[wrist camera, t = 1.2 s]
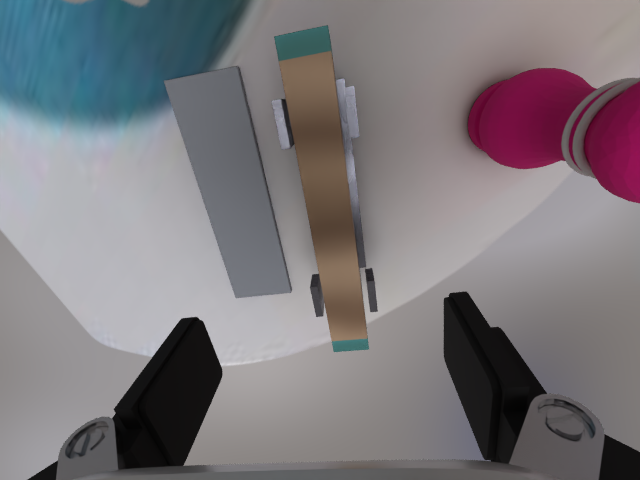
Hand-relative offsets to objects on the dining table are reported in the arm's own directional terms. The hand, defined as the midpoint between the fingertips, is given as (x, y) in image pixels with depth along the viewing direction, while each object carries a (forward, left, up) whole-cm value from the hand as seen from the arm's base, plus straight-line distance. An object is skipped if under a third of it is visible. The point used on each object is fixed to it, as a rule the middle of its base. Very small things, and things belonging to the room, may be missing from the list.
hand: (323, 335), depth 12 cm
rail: (0, 0, -14) cm, 14 cm away
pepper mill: (-4, +16, -22) cm, 27 cm away
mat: (0, -10, -22) cm, 24 cm away
